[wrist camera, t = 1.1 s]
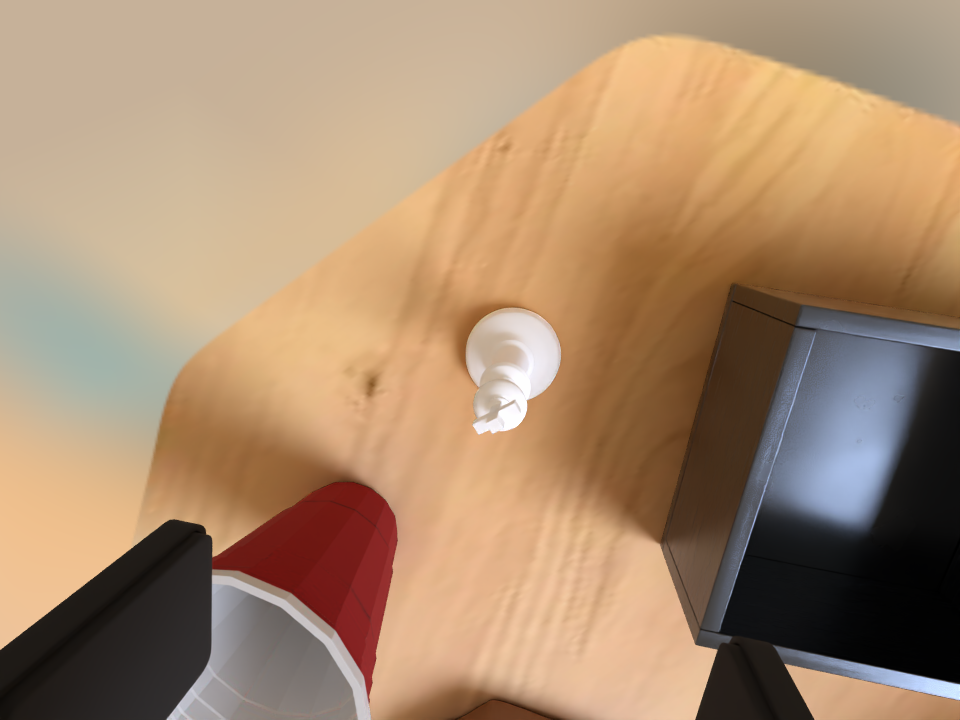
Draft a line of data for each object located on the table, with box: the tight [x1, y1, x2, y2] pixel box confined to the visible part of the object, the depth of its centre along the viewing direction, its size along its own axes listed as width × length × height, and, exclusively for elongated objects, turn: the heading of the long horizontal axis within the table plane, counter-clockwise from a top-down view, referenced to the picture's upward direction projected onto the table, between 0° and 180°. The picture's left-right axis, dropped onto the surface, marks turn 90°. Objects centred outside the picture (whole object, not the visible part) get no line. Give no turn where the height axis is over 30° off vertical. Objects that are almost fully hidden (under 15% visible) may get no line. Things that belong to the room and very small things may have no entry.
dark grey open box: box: [660, 283, 960, 701], centre depth 23 cm, size 15×15×7 cm
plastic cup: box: [167, 482, 398, 720], centre depth 25 cm, size 11×11×12 cm
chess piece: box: [466, 308, 561, 435], centre depth 22 cm, size 5×5×10 cm
